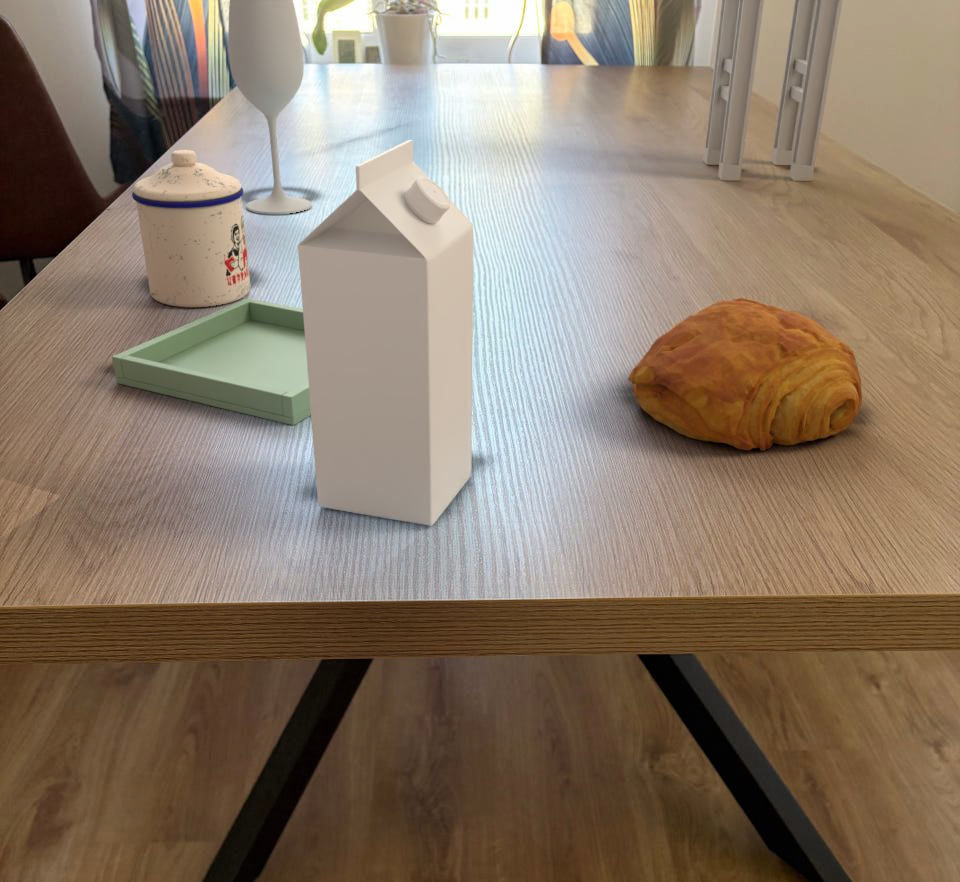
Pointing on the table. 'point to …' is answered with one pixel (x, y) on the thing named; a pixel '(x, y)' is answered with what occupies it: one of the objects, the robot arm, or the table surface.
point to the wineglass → (267, 76)
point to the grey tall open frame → (799, 89)
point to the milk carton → (390, 344)
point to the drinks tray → (229, 362)
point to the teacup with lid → (193, 234)
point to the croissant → (749, 377)
